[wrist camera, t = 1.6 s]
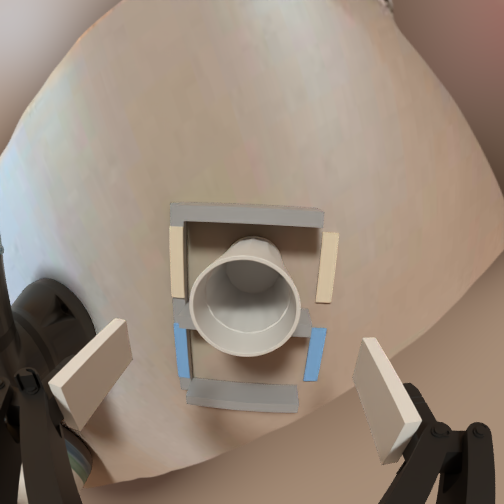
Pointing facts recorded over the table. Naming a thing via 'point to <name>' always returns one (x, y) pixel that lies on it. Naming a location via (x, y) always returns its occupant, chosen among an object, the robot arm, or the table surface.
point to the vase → (78, 462)
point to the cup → (246, 300)
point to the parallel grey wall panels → (198, 388)
